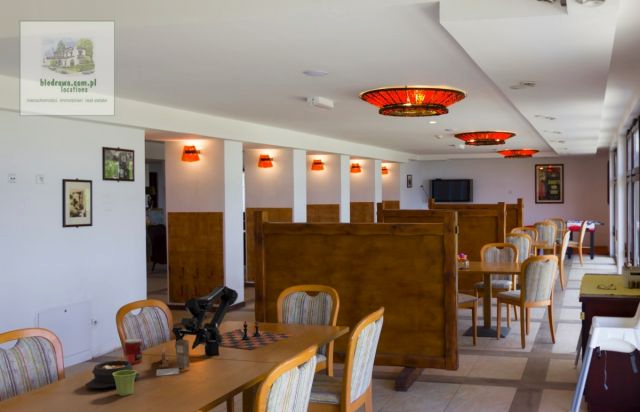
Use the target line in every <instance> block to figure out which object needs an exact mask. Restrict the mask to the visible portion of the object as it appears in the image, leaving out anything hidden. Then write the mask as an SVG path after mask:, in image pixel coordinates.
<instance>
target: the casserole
mask: <svg viewBox="0 0 640 412" xmlns="http://www.w3.org/2000/svg"><path fill="white" fill-rule="evenodd" d="M133 369H134V367H133V365H132V364H131V363H130V362H128V361H126V360H110V361H105V362H101V363H97V364H96V365H94V367H93V370H92V371H91V373H92V374H93V376H94V378H93V379H91V380H90V381H88V382H87V383H85V384H84V385H85V387H87V388H91V389H92V388H93V389H104V388H105V389H106V388H116V383H115V379H114V376H113V373H114V372H117V371H122V370H133ZM139 376H140V373H138V372H137V373H136V374H135V379H136V378H138V377H139Z"/></svg>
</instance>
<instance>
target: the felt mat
mask: <svg viewBox="0 0 640 412" xmlns="http://www.w3.org/2000/svg"><path fill="white" fill-rule="evenodd" d="M173 374H174V375H179V374H180V368H177V367H174V368H163V369H160V368H159V369H156V376H155V377H160V376H171V375H173Z"/></svg>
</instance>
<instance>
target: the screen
mask: <svg viewBox="0 0 640 412" xmlns="http://www.w3.org/2000/svg"><path fill="white" fill-rule="evenodd" d="M166 356H167V355H166V347H162V348H161V358H159V362H162V363H161V364H159V368H168V367H169V364H167V362H166V361H168V362H169V358H167V357H166Z"/></svg>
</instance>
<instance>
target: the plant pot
mask: <svg viewBox="0 0 640 412" xmlns="http://www.w3.org/2000/svg"><path fill="white" fill-rule="evenodd" d="M136 373H138V372H137V370H133V369H132V370H122V371H117V372H114V373H113V376H114V379H115V383H116V387H115V388H116V393H117V395H118V396H120V397H121V396H124V397H125V396H128V395H132V394H134V386H135V380H136V378H135V374H136Z"/></svg>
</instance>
